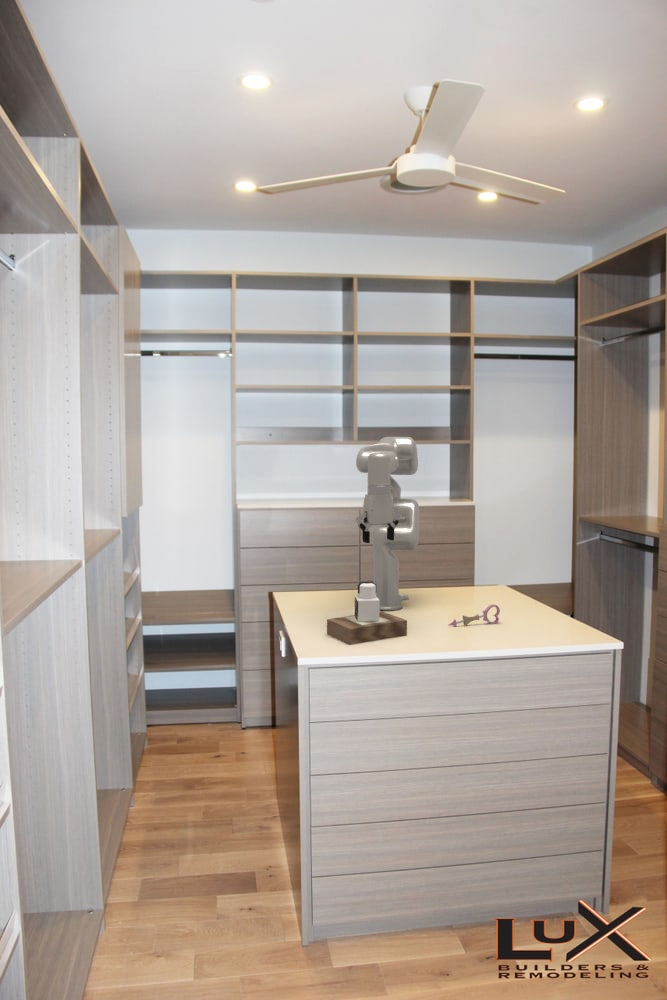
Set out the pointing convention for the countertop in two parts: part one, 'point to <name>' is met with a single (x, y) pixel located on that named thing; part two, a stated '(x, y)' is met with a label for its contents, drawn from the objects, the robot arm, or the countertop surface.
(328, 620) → the shelf riser
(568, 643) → the countertop surface
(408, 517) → the robot arm
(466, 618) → the decorative key
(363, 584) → the medicine bottle
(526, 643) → the countertop surface
